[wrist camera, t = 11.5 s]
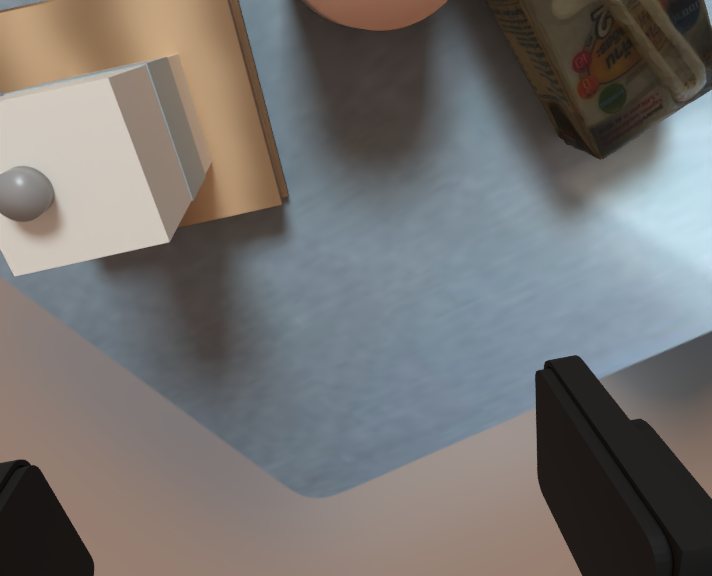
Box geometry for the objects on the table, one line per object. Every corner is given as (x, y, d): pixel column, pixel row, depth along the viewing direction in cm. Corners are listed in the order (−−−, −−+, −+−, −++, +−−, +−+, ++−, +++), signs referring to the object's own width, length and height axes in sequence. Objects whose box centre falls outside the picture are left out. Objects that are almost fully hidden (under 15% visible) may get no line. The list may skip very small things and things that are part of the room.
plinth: (228, -38, 29) (222, -43, 26) (288, 193, 34) (288, 208, 32) (-11, 14, 28) (-42, 14, 26) (89, 237, 34) (72, 256, 31)
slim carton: (178, 52, 27) (101, 78, 16) (213, 162, 30) (167, 252, 19) (68, 76, 27) (-89, 119, 16) (112, 184, 30) (3, 288, 18)
